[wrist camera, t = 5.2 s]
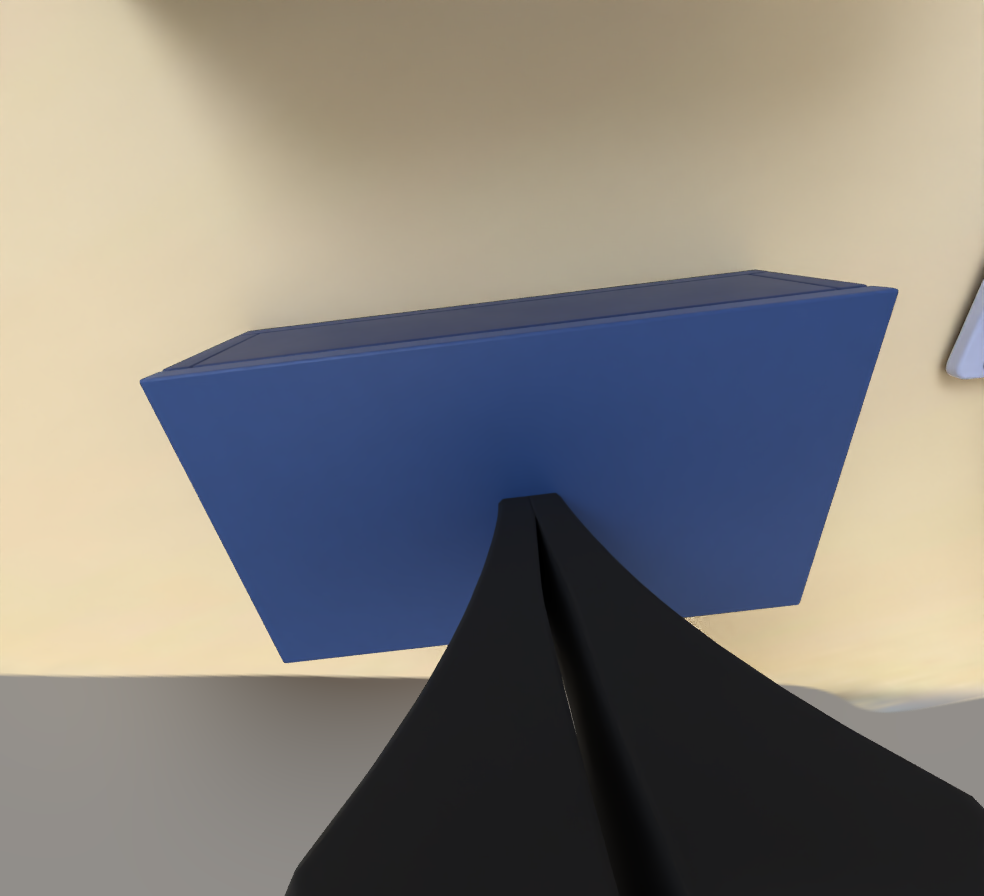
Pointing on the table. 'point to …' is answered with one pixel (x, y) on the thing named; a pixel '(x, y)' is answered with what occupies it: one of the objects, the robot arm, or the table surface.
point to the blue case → (509, 315)
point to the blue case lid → (527, 459)
